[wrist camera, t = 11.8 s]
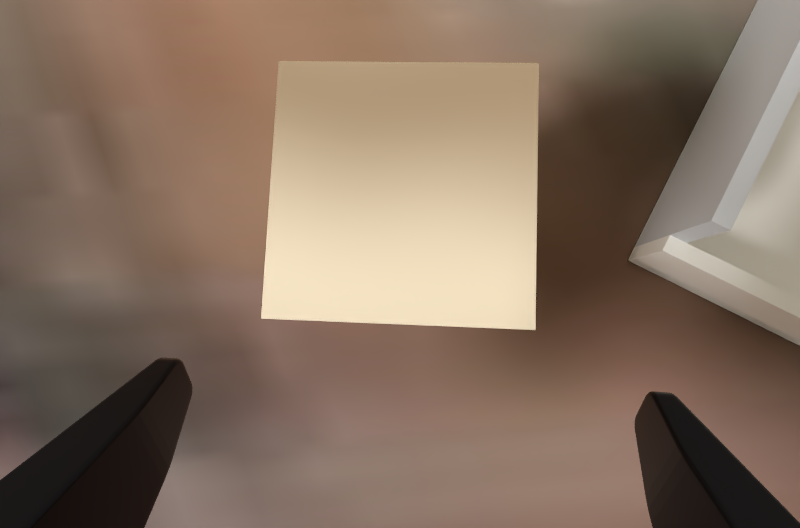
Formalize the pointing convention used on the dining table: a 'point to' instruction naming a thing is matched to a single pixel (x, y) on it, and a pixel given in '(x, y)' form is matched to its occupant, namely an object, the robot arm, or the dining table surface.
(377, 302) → the birch block
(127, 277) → the dining table surface
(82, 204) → the dining table surface
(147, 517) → the robot arm
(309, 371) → the dining table surface
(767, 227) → the white open box
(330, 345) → the dining table surface
